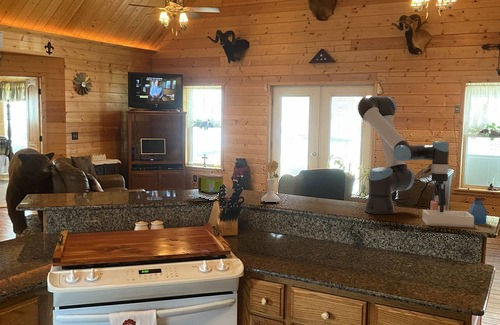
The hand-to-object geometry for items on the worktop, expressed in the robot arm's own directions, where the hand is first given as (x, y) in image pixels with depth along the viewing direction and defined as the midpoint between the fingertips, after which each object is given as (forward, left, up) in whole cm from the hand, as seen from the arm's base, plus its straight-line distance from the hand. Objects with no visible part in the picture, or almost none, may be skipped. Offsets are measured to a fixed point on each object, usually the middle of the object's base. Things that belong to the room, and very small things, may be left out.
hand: (438, 216), depth 233 cm
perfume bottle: (+4, +17, -1) cm, 17 cm away
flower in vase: (-28, -87, -1) cm, 92 cm away
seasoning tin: (-1, 0, -1) cm, 1 cm away
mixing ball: (-1, 0, +9) cm, 9 cm away
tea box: (-34, -126, -1) cm, 130 cm away
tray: (+11, +2, -1) cm, 11 cm away
